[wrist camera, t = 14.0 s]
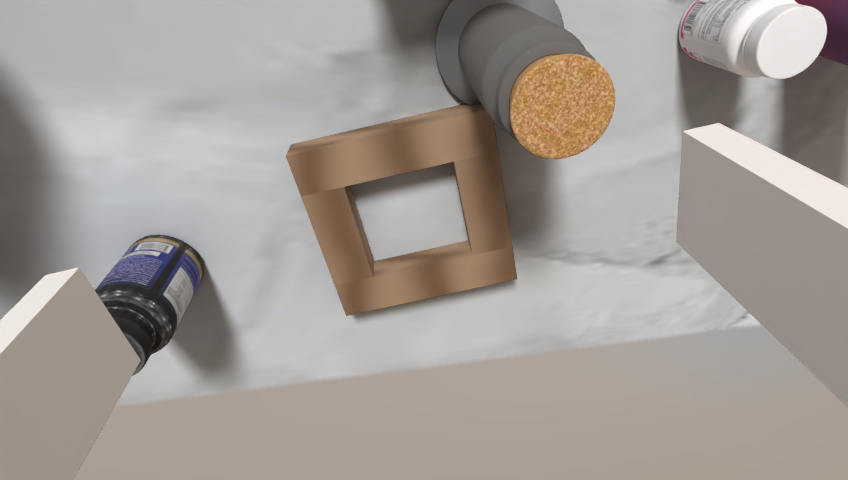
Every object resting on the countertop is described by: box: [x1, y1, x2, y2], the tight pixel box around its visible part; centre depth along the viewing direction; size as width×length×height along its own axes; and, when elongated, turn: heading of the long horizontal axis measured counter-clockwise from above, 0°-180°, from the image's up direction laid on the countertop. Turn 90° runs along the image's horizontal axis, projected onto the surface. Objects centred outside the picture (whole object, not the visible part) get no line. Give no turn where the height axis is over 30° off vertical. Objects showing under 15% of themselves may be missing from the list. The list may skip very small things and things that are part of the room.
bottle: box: [458, 3, 615, 159], centre depth 29 cm, size 6×6×15 cm
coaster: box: [436, 0, 564, 105], centre depth 36 cm, size 9×9×1 cm
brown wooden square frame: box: [286, 103, 517, 316], centre depth 41 cm, size 15×15×2 cm
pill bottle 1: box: [95, 235, 203, 376], centre depth 38 cm, size 6×6×11 cm
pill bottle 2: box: [679, 0, 827, 79], centre depth 33 cm, size 5×5×8 cm
